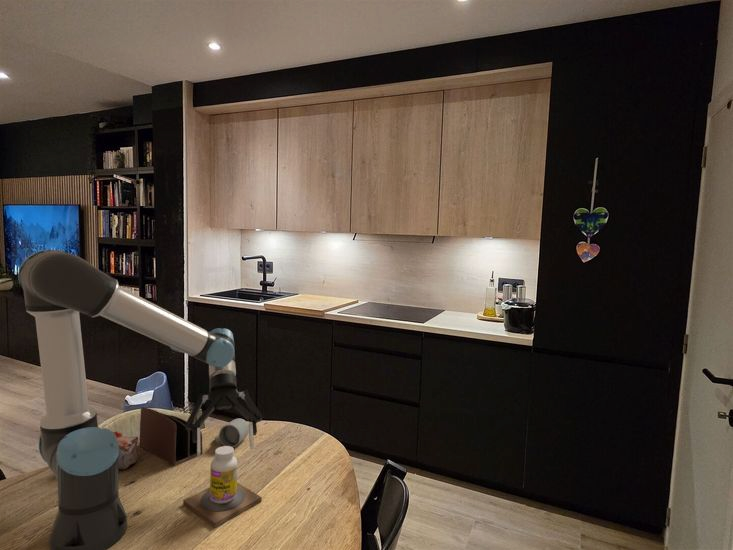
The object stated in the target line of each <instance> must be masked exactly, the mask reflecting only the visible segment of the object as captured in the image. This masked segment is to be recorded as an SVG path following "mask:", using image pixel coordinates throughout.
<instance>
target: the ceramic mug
mask: <svg viewBox="0 0 733 550" xmlns="http://www.w3.org/2000/svg"><path fill="white" fill-rule="evenodd" d="M218 432H219V433H218V434H217V435H216V436H214V441H215V442H216V443H219V442H220V444H221V445H223V446H230V447H233V448H236V447H237V446H238V445H240V443H241V442H243V441H244V439H246V437H247V436H248V435H249V422H247V420H245V418H244V419H243V418H235V419H232V420H231V421H229V422H228V423H226V424H225V425H223V426H222V427H221V428H220V430H219V431H218Z"/></svg>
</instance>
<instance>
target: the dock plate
mask: <svg viewBox="0 0 733 550" xmlns="http://www.w3.org/2000/svg"><path fill="white" fill-rule="evenodd" d="M262 498H263V497H262V496H261V495H259V494H257V493H255V492H254V491H252V490H251V489H249V488H247V487H246V486H243V485H242V484H240V483H239V482H237V492H236V497H235V498H234V499H233V500H232V501H230V502H228V503H223V504H218V503H214V502H212V501H211V499H210V486H209V487H208V488H205V489H203V490H202V491H200V492H196V493H194V494H193V495H191V496H189V497H187V498H184V499H183V500H182V501H183V502H182V504H183V506H184V507H186V508H188V509H189V510H190V511H191V512H193V513H195V514H196V515H197V516H198V517H200V518H201V519H202V520H204V521H205V522H207V523H208V524H210V525H211V526H212V527H214V528H215V529H216V528H218V527H219V526H220V525H222V524H225V523H226V522H228V521H230V520H232V519H233V518H234V517H237V516H238V515H240V514H242V513H244V512H245V511H247V510H249V509H251V508H253V507H254V506H256V505H257V504H260V503H261V502H262V501H263V500H262Z"/></svg>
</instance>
